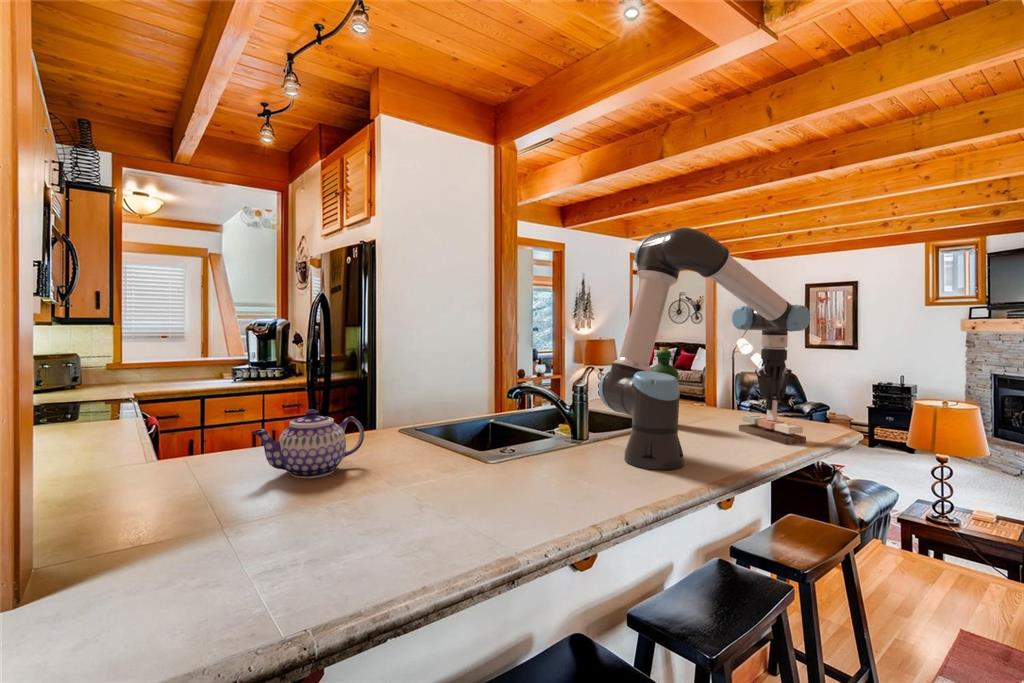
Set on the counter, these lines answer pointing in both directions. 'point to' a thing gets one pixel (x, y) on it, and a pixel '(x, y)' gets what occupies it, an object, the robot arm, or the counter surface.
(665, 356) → the bottle
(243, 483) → the counter surface
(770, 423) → the terracotta tile
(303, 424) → the teapot
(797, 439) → the button board
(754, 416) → the sage tile
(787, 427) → the cream tile
